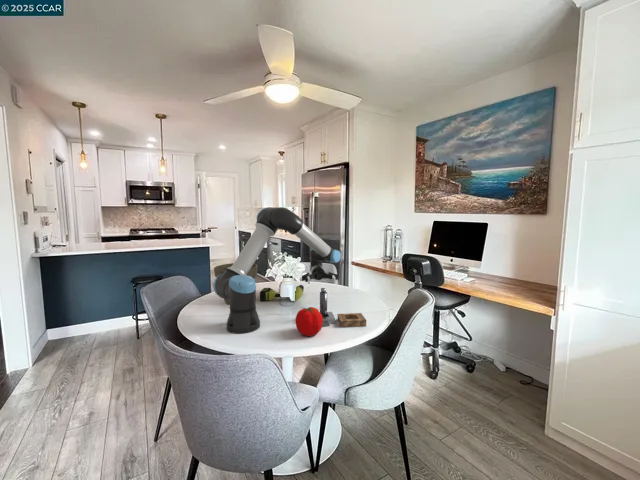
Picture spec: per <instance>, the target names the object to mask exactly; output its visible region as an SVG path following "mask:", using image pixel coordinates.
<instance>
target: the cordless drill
mask: <svg viewBox="0 0 640 480" xmlns="http://www.w3.org/2000/svg"><path fill="white" fill-rule="evenodd" d="M295 287H296V291H295V302H297V301H299V299H300V298H301V297H303V295H304V294H303V293H304V289H305V287H304V285H302V284H299V285H297V286H295ZM275 298H281V297H280V294H279V292H276V291H275V290H274V289H273V288H271V287H263V288H262V289H261V290H260V291H259V301H260V302H269V301H273V300H274V299H275ZM295 302H294V303H295Z"/></svg>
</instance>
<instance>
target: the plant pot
mask: <svg viewBox="0 0 640 480" xmlns="http://www.w3.org/2000/svg"><path fill="white" fill-rule="evenodd" d="M233 264H234V262H233V263H232V262H231V263H225V264H220V265H216V266H214V267H213V270H214V271H213V273H214V277H215V278H216V277H217V276H219V275H221V274H223V273H224V272H225V270H226V269H227V268H228V267H231V266H232V265H233ZM257 274H258V264H256V263H254V264H253V265H252V267H251V269H250V270H249V272H248V273H247V276H250V277H252V278H254V280H255V281H256V277H257ZM223 300H224V303H225V304H226V303H227V304H226V305H230V301H228V300H226V299H223Z"/></svg>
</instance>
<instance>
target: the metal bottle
mask: <svg viewBox="0 0 640 480" xmlns="http://www.w3.org/2000/svg"><path fill="white" fill-rule="evenodd" d="M319 312H320V313H321V315H322V317H327V312H328V292H327V288H326V287H321V288H320V292H319Z"/></svg>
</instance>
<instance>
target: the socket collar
mask: <svg viewBox="0 0 640 480" xmlns="http://www.w3.org/2000/svg"><path fill="white" fill-rule="evenodd" d="M325 323H329V324H330V325H331V324H332V325H333V324H336V317H335V315H334V313H333V311H327V317H323V323H322V324H325Z"/></svg>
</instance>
